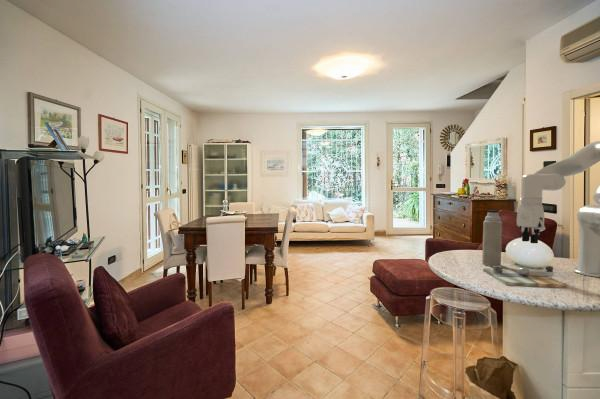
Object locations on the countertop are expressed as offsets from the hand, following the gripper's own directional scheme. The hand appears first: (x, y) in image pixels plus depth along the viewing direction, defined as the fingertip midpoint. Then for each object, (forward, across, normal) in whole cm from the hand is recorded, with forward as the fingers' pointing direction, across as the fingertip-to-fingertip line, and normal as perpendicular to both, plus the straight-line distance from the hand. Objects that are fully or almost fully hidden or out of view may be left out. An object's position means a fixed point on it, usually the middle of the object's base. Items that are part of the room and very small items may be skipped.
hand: (529, 241), depth 134 cm
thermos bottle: (+15, -18, -4) cm, 24 cm away
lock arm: (+14, +6, -2) cm, 15 cm away
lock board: (+15, +4, -8) cm, 18 cm away
